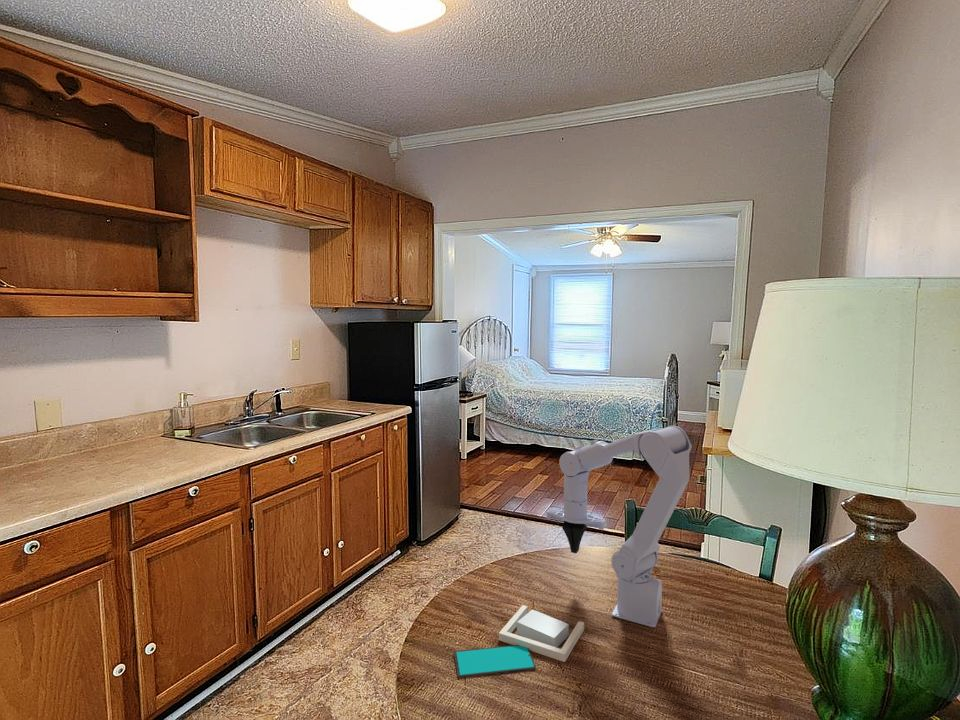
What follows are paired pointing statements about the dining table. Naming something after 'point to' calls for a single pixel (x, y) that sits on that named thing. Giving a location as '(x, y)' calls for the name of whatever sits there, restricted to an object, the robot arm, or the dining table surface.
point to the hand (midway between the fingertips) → (574, 551)
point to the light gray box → (542, 628)
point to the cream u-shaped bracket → (537, 646)
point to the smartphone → (493, 661)
